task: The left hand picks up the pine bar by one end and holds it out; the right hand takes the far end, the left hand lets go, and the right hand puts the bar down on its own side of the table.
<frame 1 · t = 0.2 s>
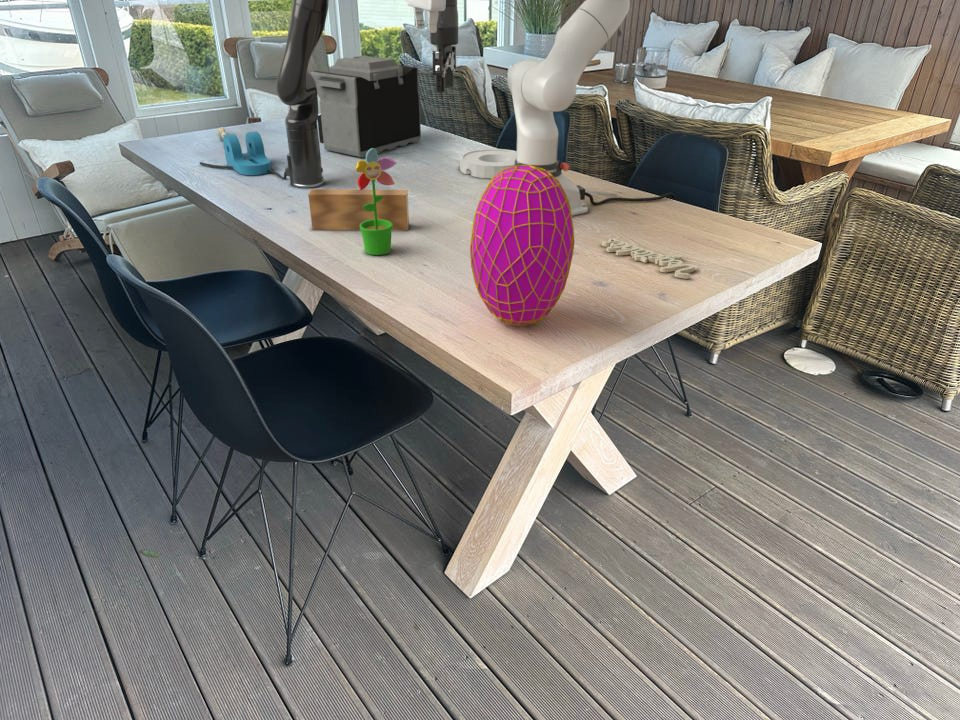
left hand: (445, 89, 190), 30 cm above the table, tool pointing down, fingers open, 8 cm apart
right hand: (426, 30, 161), 47 cm above the table, tool pointing down, fingers open, 8 cm apart
decorative egg: (518, 320, 136), on the table
electronic device: (371, 146, 258), on the table
ashtray: (494, 169, 232), on the table
bar: (361, 227, 181), on the table
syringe: (225, 140, 264), on the table
camera mount: (251, 168, 229), on the table
potted flower: (379, 251, 167), on the table
decorative sign: (649, 258, 165), on the table
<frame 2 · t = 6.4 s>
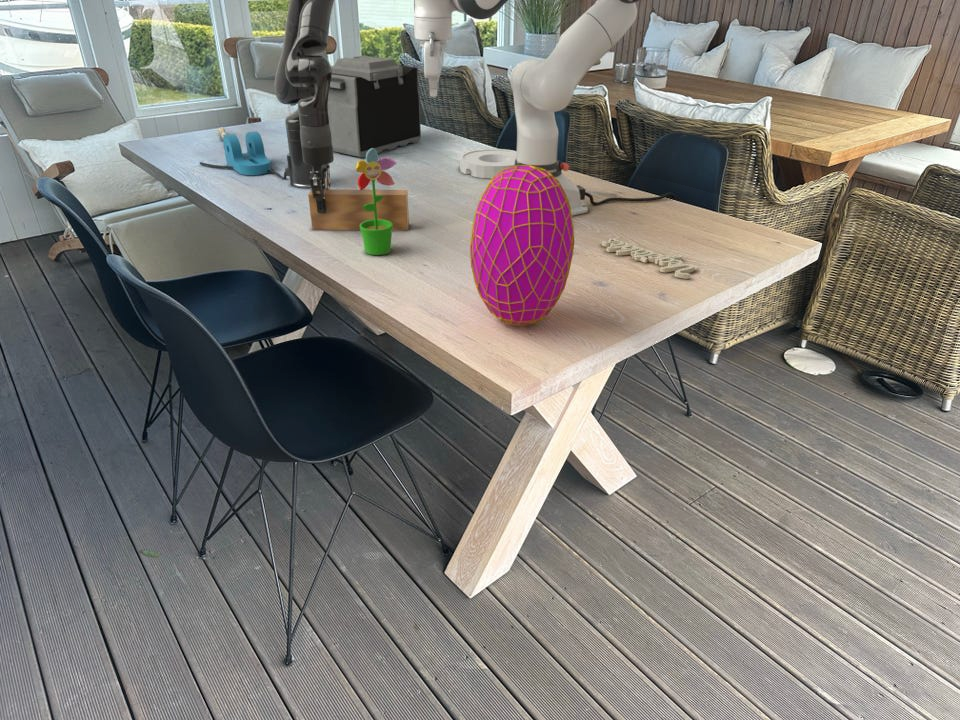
left hand: (323, 209, 179), 5 cm above the table, tool pointing down, fingers closed on bar, 4 cm apart
right hand: (434, 92, 168), 33 cm above the table, tool pointing down, fingers open, 8 cm apart
bar: (361, 227, 181), on the table, touching left hand
everything else where it was.
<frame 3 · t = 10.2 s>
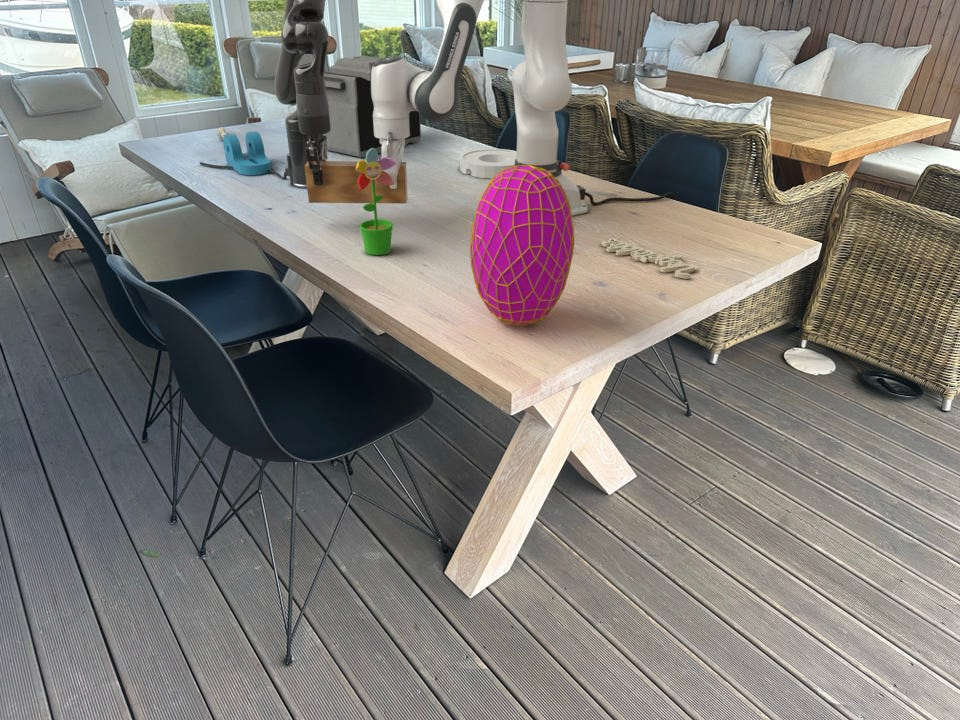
left hand: (320, 181, 175), 12 cm above the table, tool pointing down, fingers closed on bar, 4 cm apart
right hand: (394, 184, 176), 12 cm above the table, tool pointing down, fingers closed on bar, 4 cm apart
bar: (358, 200, 178), point 7 cm above the table, touching left hand, right hand
everything else where it was.
when the left hand's fingers open (12 cm above the table, at t = 11.1 s): bar stays where it is, held by the right hand.
when the right hand's fingers open (6 cm above the table, at t = 22.2 s): bar stays where it is, on the table.
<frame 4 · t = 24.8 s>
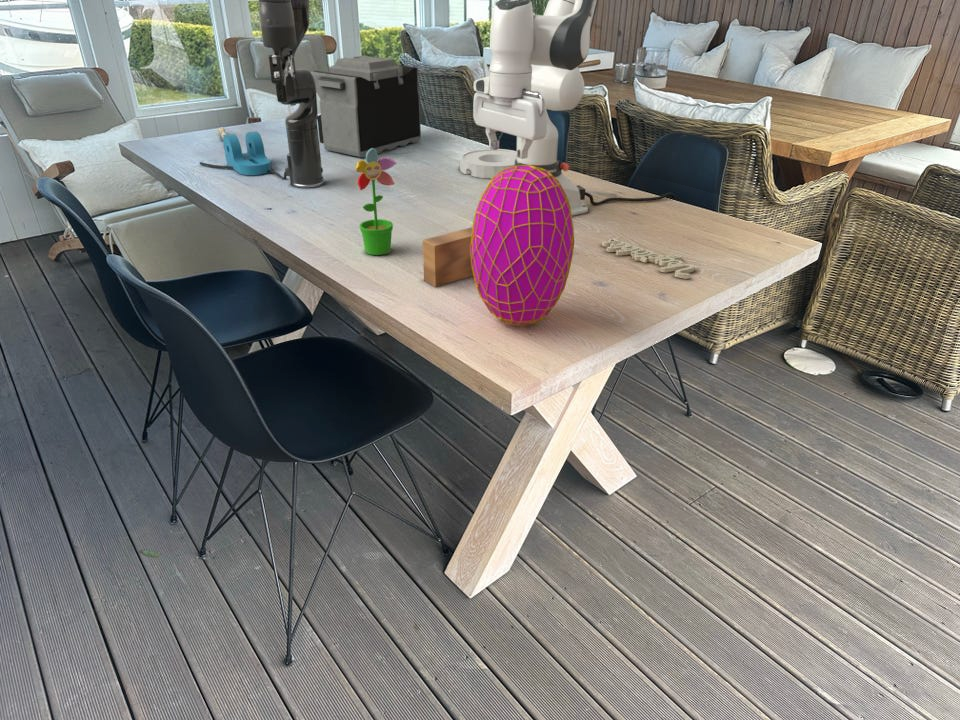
left hand: (286, 98, 165), 32 cm above the table, tool pointing down, fingers open, 8 cm apart
right hand: (508, 153, 150), 25 cm above the table, tool pointing down, fingers open, 8 cm apart
bar: (474, 270, 157), on the table
everything else where it was.
at the end: bar inside the target area (9.2 cm from its centre), on the table; the left hand is holding nothing; the right hand is holding nothing; bar at rest at the end (0.0 cm/s) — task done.
